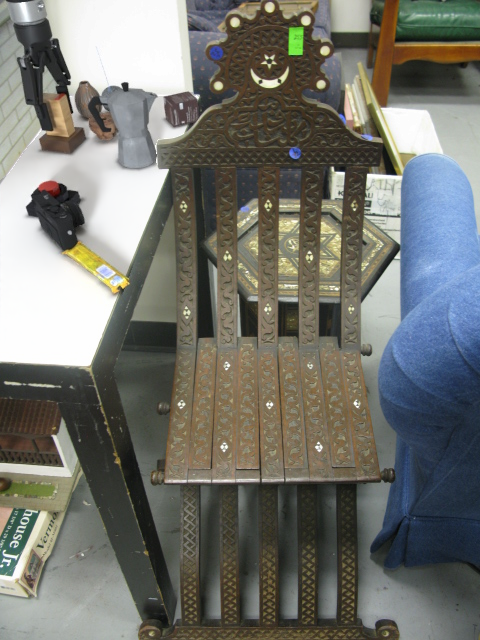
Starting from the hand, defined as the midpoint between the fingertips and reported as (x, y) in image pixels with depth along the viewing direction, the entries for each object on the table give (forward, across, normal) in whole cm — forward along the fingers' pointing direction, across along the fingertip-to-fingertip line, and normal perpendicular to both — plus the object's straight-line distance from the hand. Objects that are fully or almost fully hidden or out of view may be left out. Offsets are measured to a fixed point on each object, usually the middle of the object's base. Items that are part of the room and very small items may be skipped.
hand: (58, 121), depth 135 cm
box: (+3, +22, -27) cm, 35 cm away
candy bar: (+3, -44, -31) cm, 54 cm away
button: (+2, -27, -13) cm, 29 cm away
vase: (+6, +17, +1) cm, 18 cm away
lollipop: (-5, +19, -9) cm, 22 cm away
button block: (+6, -26, -12) cm, 30 cm away
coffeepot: (+6, -4, -20) cm, 22 cm away
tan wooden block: (+3, 0, 0) cm, 3 cm away
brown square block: (+6, 0, 0) cm, 6 cm away
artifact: (+6, +5, -9) cm, 12 cm away
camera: (+6, -35, -20) cm, 41 cm away
